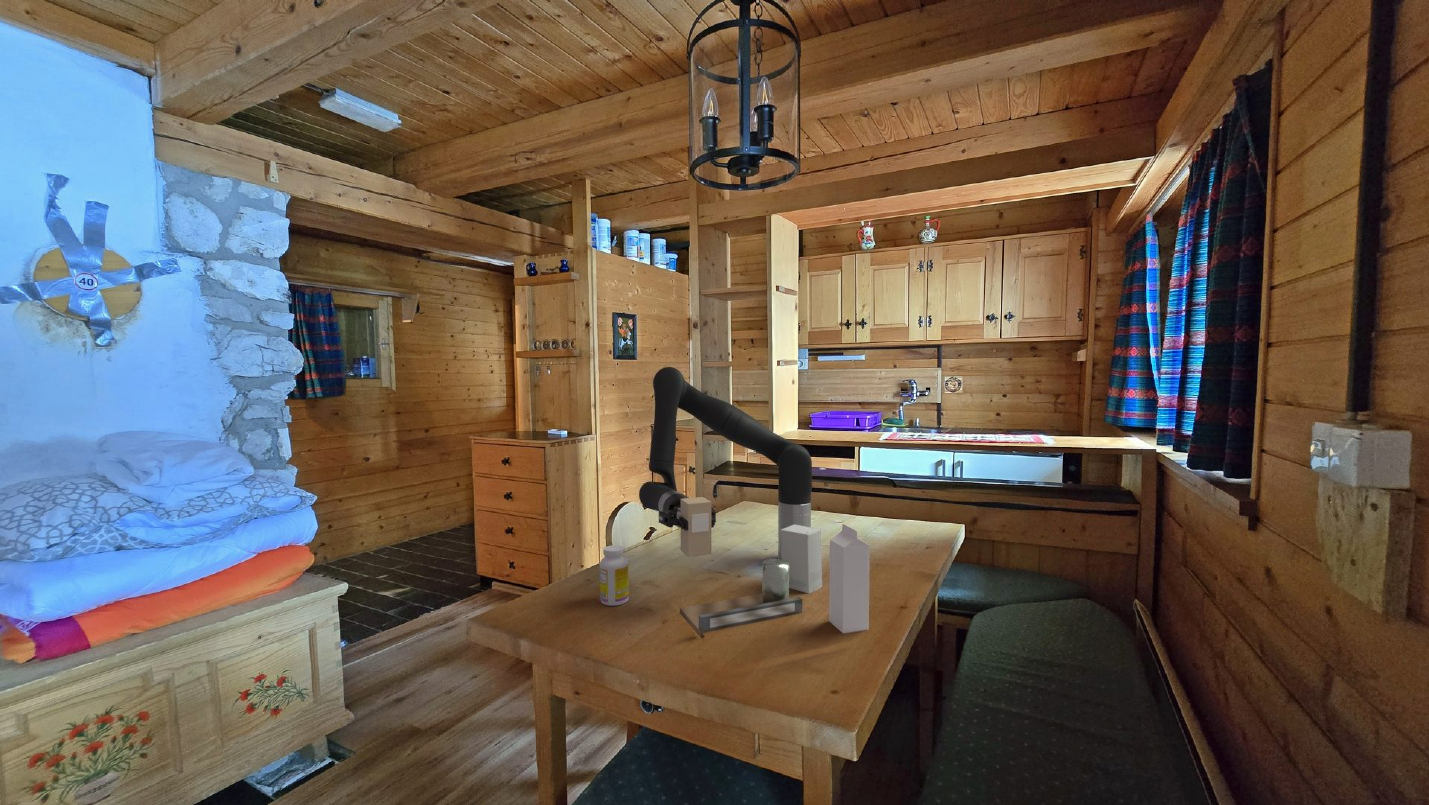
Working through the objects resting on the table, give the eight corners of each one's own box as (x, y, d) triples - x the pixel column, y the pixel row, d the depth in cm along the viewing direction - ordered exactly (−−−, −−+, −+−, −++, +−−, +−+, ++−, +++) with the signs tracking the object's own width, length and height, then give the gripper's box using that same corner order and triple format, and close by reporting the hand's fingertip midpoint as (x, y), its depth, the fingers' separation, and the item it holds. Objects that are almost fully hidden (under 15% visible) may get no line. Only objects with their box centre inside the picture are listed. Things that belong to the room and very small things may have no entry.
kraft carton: (702, 547, 134) (702, 496, 134) (711, 554, 129) (711, 502, 129) (680, 550, 132) (680, 498, 132) (688, 557, 127) (688, 504, 126)
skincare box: (822, 591, 141) (823, 529, 140) (807, 599, 136) (808, 534, 135) (794, 582, 146) (795, 523, 146) (779, 590, 142) (779, 528, 141)
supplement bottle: (631, 596, 138) (631, 544, 137) (624, 607, 132) (624, 552, 131) (604, 595, 139) (604, 543, 138) (596, 606, 132) (595, 552, 132)
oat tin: (779, 599, 133) (779, 557, 132) (793, 609, 127) (794, 565, 127) (756, 603, 130) (757, 561, 129) (771, 614, 125) (772, 569, 124)
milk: (843, 639, 116) (843, 532, 114) (828, 626, 121) (829, 524, 120) (869, 635, 117) (870, 529, 116) (854, 622, 123) (854, 522, 122)
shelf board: (773, 596, 138) (773, 579, 137) (802, 618, 126) (802, 599, 125) (679, 613, 128) (679, 594, 128) (701, 638, 116) (701, 618, 116)
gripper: (648, 495, 141) (669, 511, 125) (703, 491, 146) (729, 505, 130) (649, 525, 141) (669, 544, 126) (703, 519, 147) (729, 537, 131)
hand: (699, 524), depth 128 cm, fingers closed on kraft carton, 5 cm apart
